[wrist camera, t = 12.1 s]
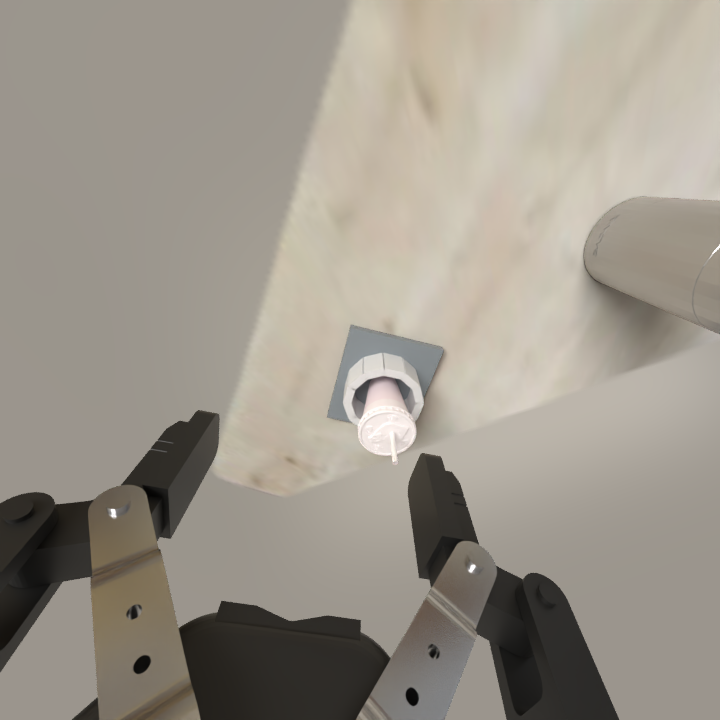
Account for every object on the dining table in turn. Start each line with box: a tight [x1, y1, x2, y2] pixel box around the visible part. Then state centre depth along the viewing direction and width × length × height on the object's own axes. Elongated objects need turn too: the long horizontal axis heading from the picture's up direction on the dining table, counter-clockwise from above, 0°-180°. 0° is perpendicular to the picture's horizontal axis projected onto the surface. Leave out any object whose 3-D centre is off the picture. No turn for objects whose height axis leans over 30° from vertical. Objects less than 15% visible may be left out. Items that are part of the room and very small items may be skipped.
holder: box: [327, 325, 444, 426], centre depth 43 cm, size 12×14×5 cm
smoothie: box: [358, 376, 416, 465], centre depth 39 cm, size 6×6×14 cm
